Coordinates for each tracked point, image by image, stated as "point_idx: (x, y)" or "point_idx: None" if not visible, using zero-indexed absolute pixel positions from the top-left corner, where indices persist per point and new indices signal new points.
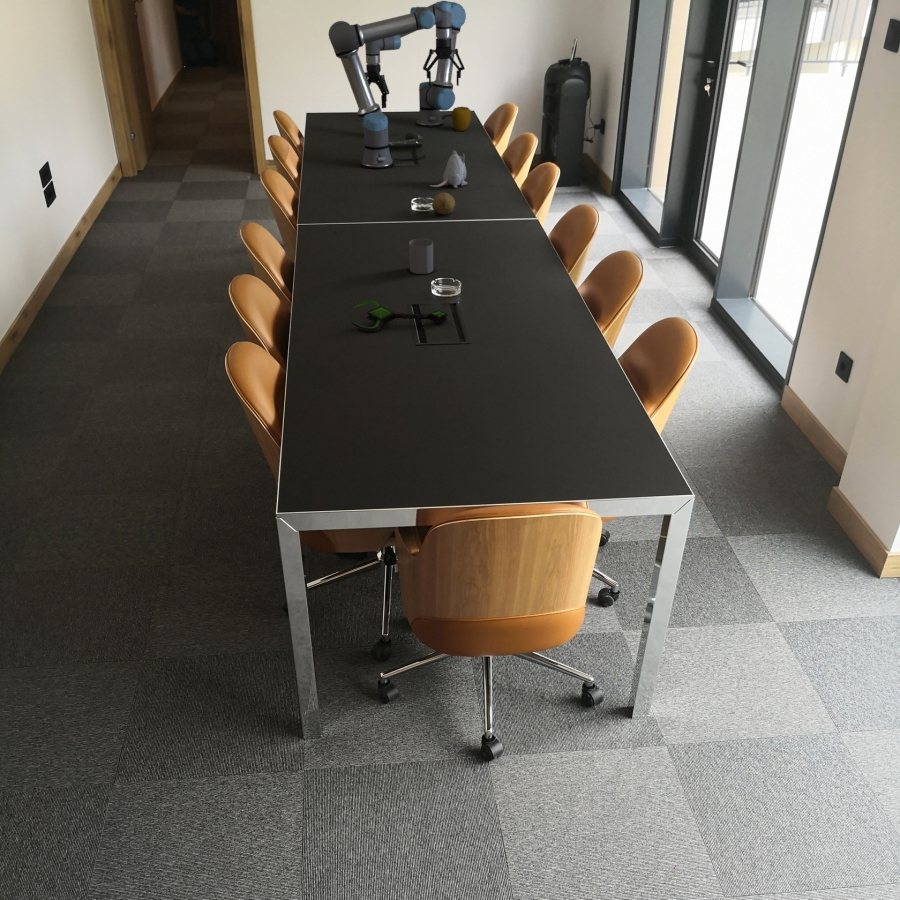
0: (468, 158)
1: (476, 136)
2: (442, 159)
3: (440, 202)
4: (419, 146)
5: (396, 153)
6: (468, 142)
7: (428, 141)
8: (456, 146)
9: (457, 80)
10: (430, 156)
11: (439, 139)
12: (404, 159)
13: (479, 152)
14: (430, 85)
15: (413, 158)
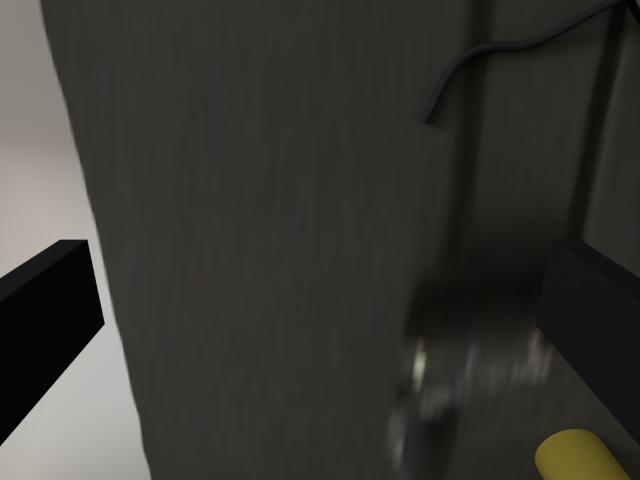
0: (194, 64)
1: (163, 439)
2: (333, 53)
3: None
4: (417, 308)
5: (546, 194)
6: (196, 356)
7: (367, 382)
8: (250, 297)
9: (24, 280)
10: (389, 122)
11: (318, 407)
12: (542, 34)
13: (141, 183)
14: (565, 244)
15: (492, 45)
